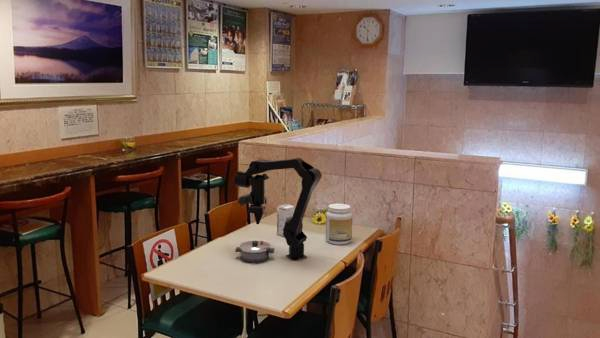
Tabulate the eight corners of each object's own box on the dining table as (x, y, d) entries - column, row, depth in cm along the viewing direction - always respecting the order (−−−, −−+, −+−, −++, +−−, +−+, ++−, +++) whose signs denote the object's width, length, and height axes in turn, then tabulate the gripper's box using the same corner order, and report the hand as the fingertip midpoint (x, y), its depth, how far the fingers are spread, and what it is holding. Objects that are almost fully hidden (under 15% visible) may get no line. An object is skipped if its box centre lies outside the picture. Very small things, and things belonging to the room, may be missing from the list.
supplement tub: (356, 243, 230) (357, 207, 227) (333, 246, 225) (334, 210, 222) (342, 235, 241) (343, 201, 238) (320, 239, 236) (321, 204, 233)
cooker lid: (242, 242, 215) (242, 236, 214) (271, 243, 214) (271, 237, 214) (237, 252, 202) (237, 246, 202) (268, 253, 202) (268, 247, 201)
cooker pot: (277, 259, 208) (277, 248, 207) (248, 266, 200) (248, 255, 199) (261, 250, 218) (261, 240, 217) (232, 257, 210) (232, 246, 209)
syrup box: (284, 232, 245) (284, 203, 243) (293, 234, 241) (294, 205, 239) (276, 235, 241) (276, 205, 238) (286, 237, 237) (286, 208, 235)
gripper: (242, 184, 223) (242, 217, 226) (235, 193, 205) (236, 229, 207) (267, 184, 223) (266, 218, 225) (262, 193, 204) (262, 230, 207)
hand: (257, 223), depth 216 cm, fingers closed
